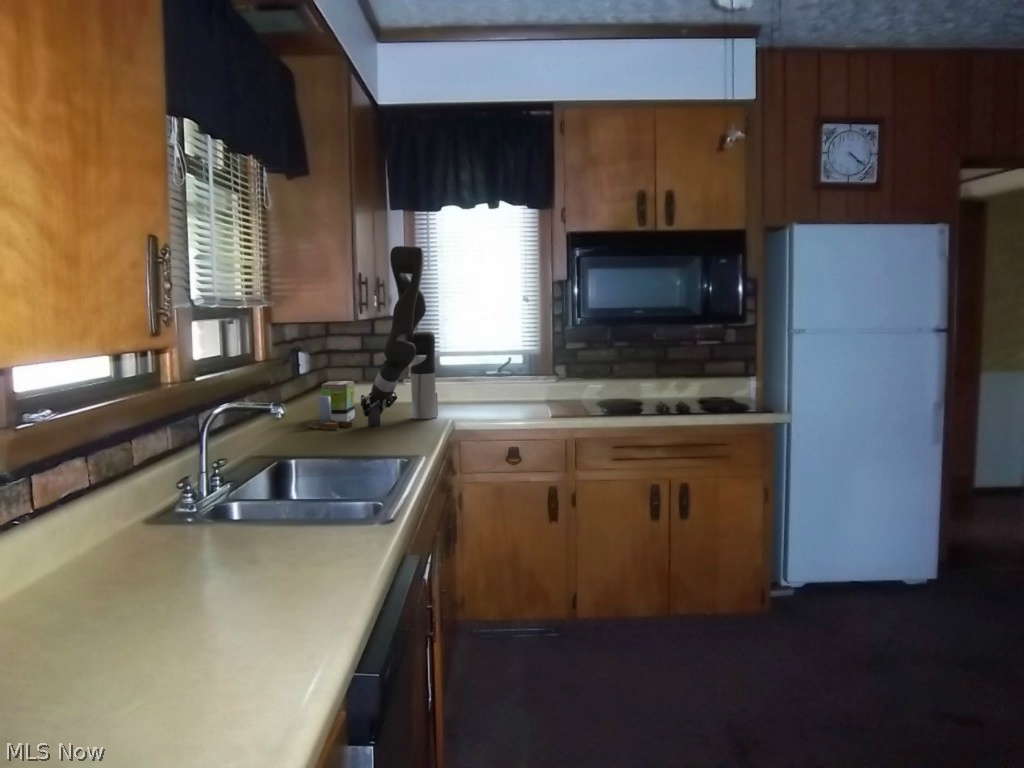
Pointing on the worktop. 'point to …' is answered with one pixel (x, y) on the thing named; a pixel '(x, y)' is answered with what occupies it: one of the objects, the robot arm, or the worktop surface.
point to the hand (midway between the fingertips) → (371, 414)
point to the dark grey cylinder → (374, 416)
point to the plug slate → (324, 409)
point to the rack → (330, 424)
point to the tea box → (340, 399)
